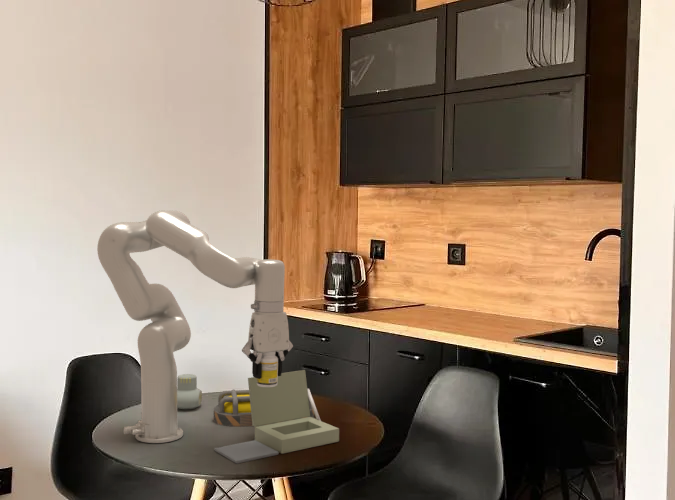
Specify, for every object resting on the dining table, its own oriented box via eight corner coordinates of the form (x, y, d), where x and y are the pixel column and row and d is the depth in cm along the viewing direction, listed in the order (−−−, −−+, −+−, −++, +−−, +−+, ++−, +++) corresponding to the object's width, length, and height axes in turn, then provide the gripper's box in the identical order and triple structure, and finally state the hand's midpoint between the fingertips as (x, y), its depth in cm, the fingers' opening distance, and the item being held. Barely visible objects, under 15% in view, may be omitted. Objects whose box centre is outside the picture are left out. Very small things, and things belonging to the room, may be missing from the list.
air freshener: (197, 412, 226) (197, 379, 226) (170, 412, 226) (170, 379, 226) (202, 402, 237) (202, 372, 237) (176, 403, 237) (176, 372, 237)
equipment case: (281, 453, 188) (282, 390, 187) (247, 436, 202) (247, 377, 201) (342, 440, 199) (342, 380, 198) (305, 424, 213) (306, 368, 213)
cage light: (213, 388, 224) (310, 385, 230) (213, 414, 225) (310, 410, 230) (214, 400, 210) (318, 396, 216) (214, 428, 210) (318, 423, 216)
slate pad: (236, 463, 180) (236, 461, 180) (214, 450, 190) (214, 448, 190) (278, 454, 187) (278, 452, 187) (255, 442, 197) (255, 440, 197)
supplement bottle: (259, 382, 195) (260, 345, 195) (279, 383, 195) (280, 346, 194) (254, 387, 190) (255, 349, 189) (275, 388, 189) (276, 350, 189)
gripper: (247, 311, 183) (246, 383, 184) (304, 307, 193) (302, 375, 194) (232, 307, 189) (231, 377, 190) (288, 303, 199) (286, 370, 200)
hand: (267, 375), depth 192 cm, fingers closed on supplement bottle, 5 cm apart
